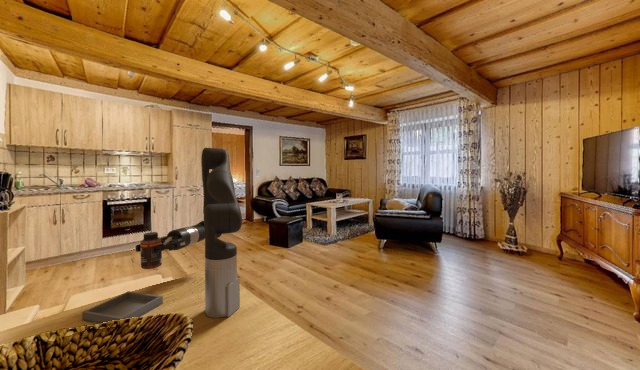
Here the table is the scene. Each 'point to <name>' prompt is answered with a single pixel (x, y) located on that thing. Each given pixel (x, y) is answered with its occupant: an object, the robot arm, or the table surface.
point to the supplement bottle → (150, 251)
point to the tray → (122, 307)
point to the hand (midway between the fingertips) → (144, 249)
